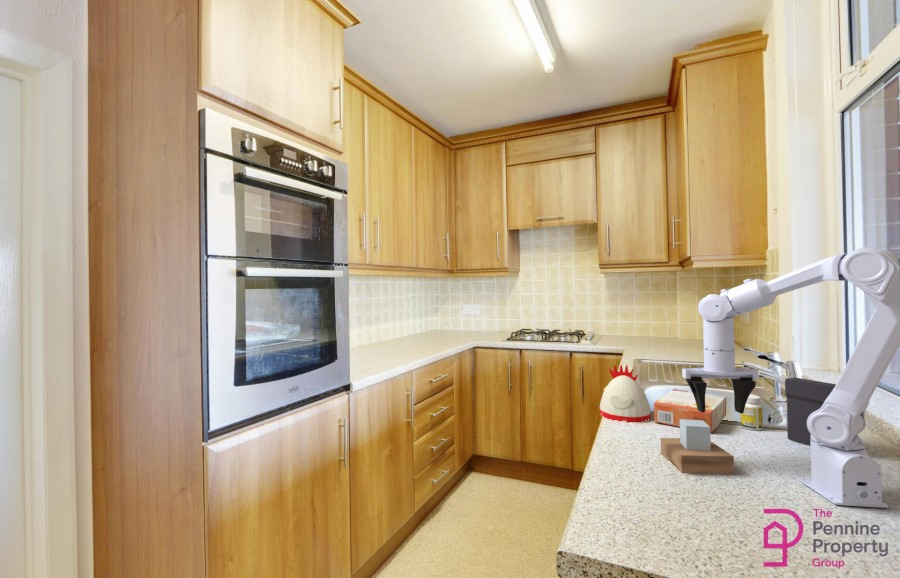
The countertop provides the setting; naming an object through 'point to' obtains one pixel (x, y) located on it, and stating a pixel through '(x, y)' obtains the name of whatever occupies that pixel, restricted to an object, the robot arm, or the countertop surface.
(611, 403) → the kitchen timer
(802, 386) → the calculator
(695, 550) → the countertop surface
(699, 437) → the slate block
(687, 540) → the countertop surface
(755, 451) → the countertop surface
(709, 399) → the cracker box
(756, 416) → the supplement bottle
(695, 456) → the walnut block
